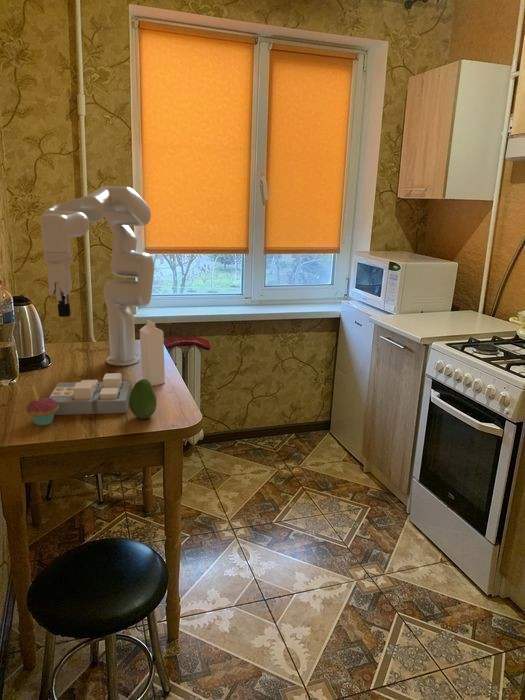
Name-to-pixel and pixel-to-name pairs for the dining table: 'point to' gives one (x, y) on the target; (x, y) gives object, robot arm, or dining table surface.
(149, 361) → the milk
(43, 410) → the cupcake
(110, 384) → the button
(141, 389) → the avocado
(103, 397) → the button
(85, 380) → the button
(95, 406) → the board
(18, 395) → the dining table surface
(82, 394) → the button
